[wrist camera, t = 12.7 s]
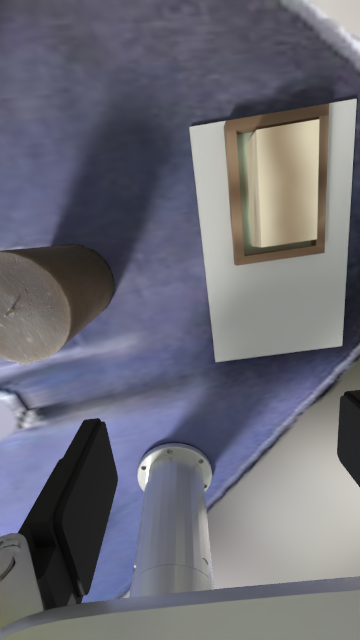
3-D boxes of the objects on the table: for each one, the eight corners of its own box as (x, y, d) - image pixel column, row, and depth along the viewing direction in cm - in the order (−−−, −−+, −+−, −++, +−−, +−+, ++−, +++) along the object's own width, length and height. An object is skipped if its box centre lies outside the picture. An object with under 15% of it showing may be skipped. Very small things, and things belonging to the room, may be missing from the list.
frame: (318, 252, 32) (324, 252, 31) (234, 264, 33) (236, 265, 31) (321, 110, 27) (329, 103, 26) (223, 126, 28) (226, 120, 26)
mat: (340, 344, 37) (342, 345, 36) (215, 360, 37) (215, 362, 37) (353, 101, 28) (356, 98, 27) (189, 128, 28) (189, 126, 28)
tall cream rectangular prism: (300, 135, 28) (319, 119, 24) (300, 238, 31) (317, 239, 28) (245, 144, 28) (256, 129, 24) (251, 246, 32) (261, 247, 28)
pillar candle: (105, 239, 32) (42, 240, 18) (121, 313, 35) (79, 364, 21) (31, 250, 33) (-88, 260, 18) (53, 322, 36) (-34, 379, 21)
